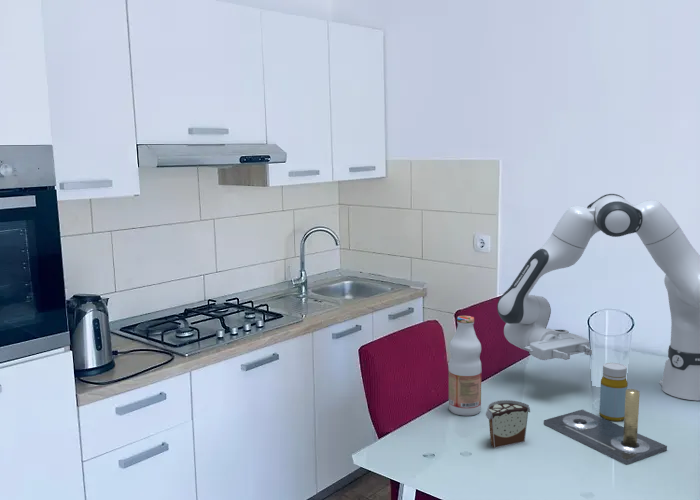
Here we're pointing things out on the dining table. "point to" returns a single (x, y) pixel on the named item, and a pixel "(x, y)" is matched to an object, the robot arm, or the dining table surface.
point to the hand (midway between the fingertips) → (579, 354)
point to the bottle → (613, 391)
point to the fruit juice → (465, 369)
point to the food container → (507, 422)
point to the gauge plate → (609, 432)
